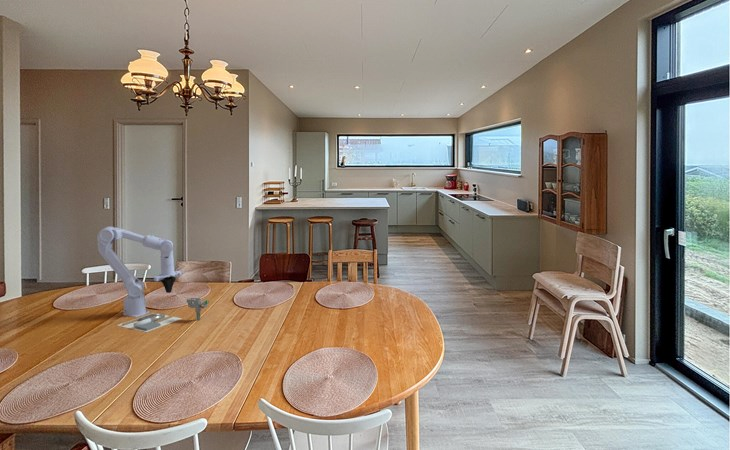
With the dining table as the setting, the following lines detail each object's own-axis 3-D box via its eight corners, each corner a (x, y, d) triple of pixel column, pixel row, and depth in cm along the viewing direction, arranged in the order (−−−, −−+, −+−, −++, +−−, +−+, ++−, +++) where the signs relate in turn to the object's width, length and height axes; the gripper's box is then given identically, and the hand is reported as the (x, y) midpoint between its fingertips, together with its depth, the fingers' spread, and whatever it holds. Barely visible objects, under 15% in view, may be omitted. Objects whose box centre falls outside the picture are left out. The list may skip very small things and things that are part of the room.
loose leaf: (139, 320, 197) (138, 315, 197) (152, 316, 203) (152, 311, 203) (151, 323, 194) (151, 318, 193) (165, 318, 200) (164, 313, 200)
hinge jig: (116, 325, 191) (116, 320, 191) (153, 313, 209) (153, 307, 208) (146, 332, 184) (146, 326, 183) (182, 319, 201) (182, 313, 200)
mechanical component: (206, 322, 197) (205, 300, 195) (186, 320, 199) (185, 299, 197) (210, 320, 200) (209, 299, 198) (190, 318, 202) (189, 297, 200)
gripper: (160, 268, 201) (162, 297, 203) (185, 262, 214) (186, 289, 216) (149, 267, 204) (151, 295, 206) (175, 261, 217) (176, 288, 219)
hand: (168, 292), depth 211 cm, fingers closed
